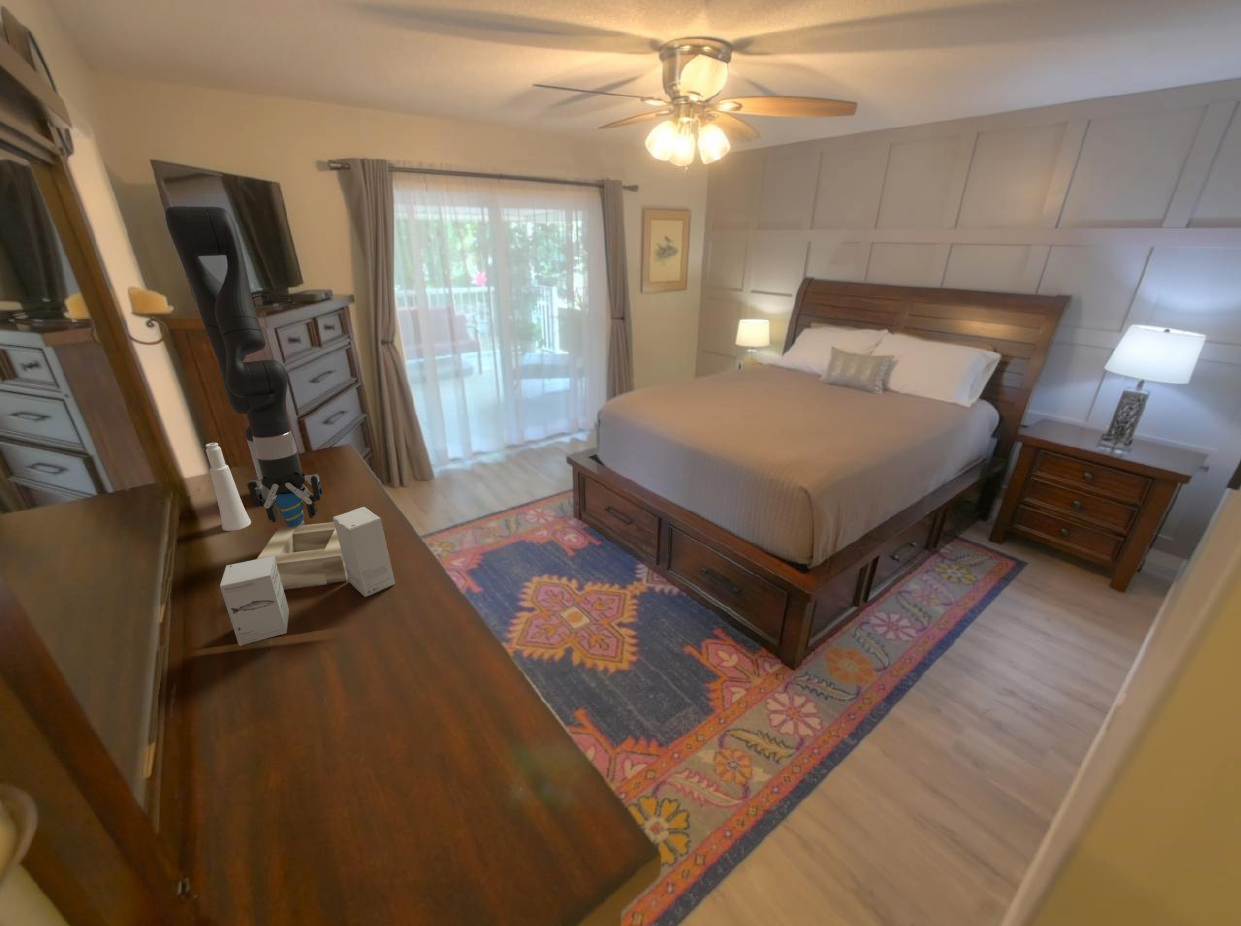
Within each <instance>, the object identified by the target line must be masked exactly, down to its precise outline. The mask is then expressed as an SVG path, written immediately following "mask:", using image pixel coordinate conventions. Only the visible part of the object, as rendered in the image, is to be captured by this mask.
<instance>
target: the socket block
mask: <svg viewBox="0 0 1241 926" xmlns="http://www.w3.org/2000/svg"><path fill="white" fill-rule="evenodd" d="M270 556H275V559H276V564H277V568H278V571H279V575H280V579H281V582H282V586H283V589H284V591H287V590H293V589H295V590H296V589H301V588H308V587H318V586H323V585H324V586H325V585H330V584H338V583H339V584H340V583H346V582H348V580H349V577H348V573H347V570H346V566H345V562H344V558H343V555H342V551H341V547H340V543H339V540H338V536H337V532H336V528H335V525H334V521H331V522H330V521H329V522H322V523H321V522H320V523H312V524H305V525H301V526H292V527H288V526H285V527H278V528H277V530H276V531H275V533H274V534H273V536H272V537H271V538H270V540H269V541H268V542H267V544H266V545H265V546H264V548H263V549H262V551H261V553H259V555H258V556H257V558H256V559H261V558H266V557H270Z"/></svg>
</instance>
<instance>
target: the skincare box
mask: <svg viewBox="0 0 1241 926" xmlns="http://www.w3.org/2000/svg"><path fill="white" fill-rule="evenodd" d="M332 520H333V521H332V522H334V525H335V528H336V532H337V536H338V540H339V543H340V547H341V551H342V555H343V558H344V562H345V566H346V570H347V573H348V580H349V581H348V582H349V583H350V584H351V585H352V587H354V588H355V589H356V590H357V591H358V592H359V593H360V594H361V595H363V597H364V598H367V597H369V596H371V595H374V594H376V593H379V592H381V591H383V590H386V589H387V588H389V587H392V586H393V585H395V584H396V582H395V577H394V573H393V569H392V564H391V560H390V554H389V550H388V546H387V541H386V537H385V533H384V528H383V524H382V518H381V517H380V516H378V515H377V514H375V513H374V512H372V511H371V510H369V509H368V508H367V507H365V506H362V507H359V508H356V509H353V510H350V511H347V512H345V513H342V514H338V515H335V516H333V517H332Z"/></svg>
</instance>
